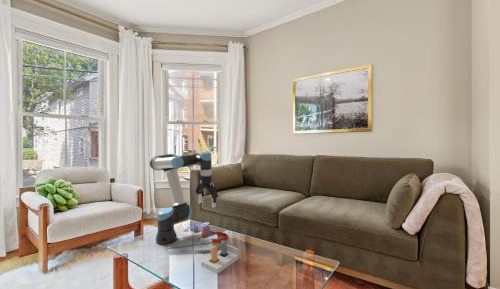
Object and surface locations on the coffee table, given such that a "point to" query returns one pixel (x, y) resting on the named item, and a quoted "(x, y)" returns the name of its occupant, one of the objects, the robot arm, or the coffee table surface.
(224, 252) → the grey pin
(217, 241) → the toy
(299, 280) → the coffee table surface
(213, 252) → the orange pin
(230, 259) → the housing
